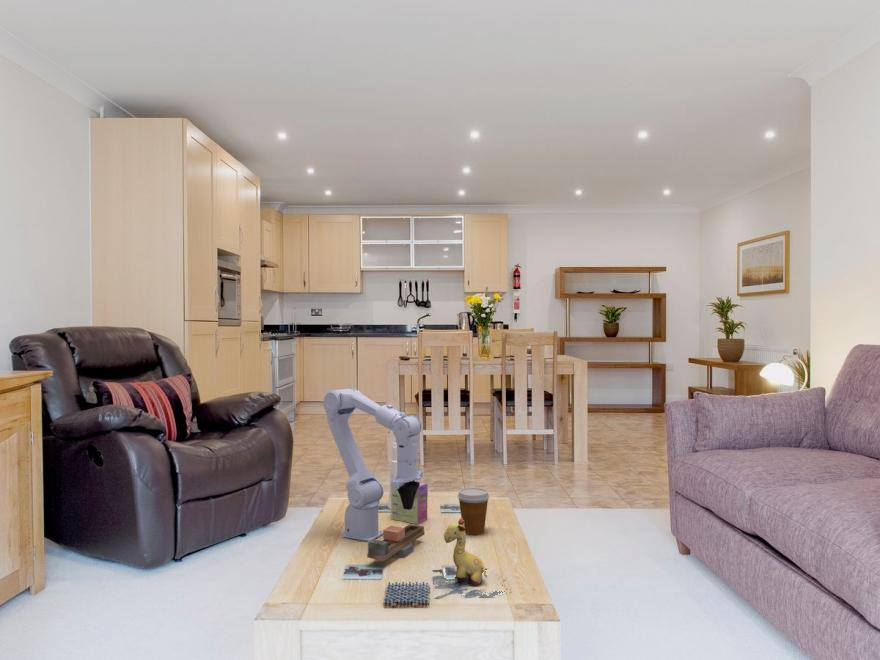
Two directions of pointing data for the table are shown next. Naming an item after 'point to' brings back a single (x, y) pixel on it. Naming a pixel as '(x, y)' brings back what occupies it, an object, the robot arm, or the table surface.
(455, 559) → the stuffed giraffe
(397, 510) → the box
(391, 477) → the cosmetic bottle
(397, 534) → the block
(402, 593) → the spiky bristle mat
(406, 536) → the beam
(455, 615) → the table surface
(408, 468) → the robot arm
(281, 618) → the table surface
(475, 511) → the disposable coffee cup
